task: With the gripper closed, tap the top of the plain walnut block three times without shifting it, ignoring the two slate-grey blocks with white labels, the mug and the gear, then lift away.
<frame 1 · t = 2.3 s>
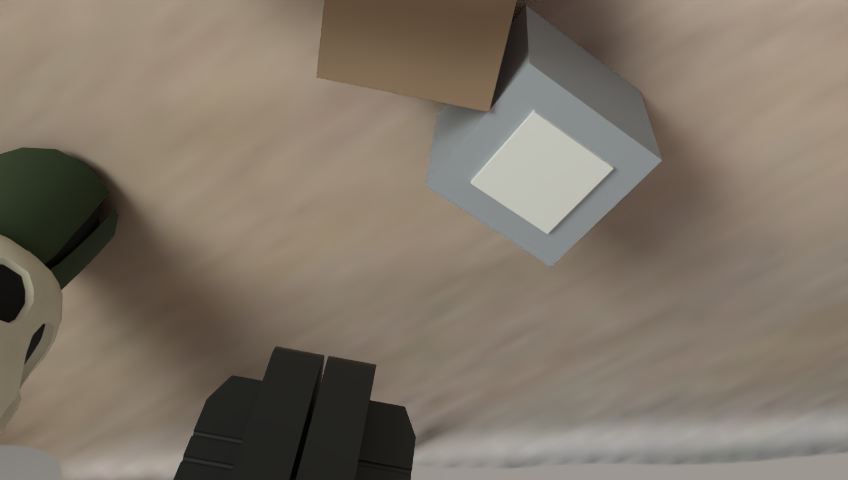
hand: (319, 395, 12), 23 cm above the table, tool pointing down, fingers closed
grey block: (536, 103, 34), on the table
character mug: (59, 194, 39), on the table
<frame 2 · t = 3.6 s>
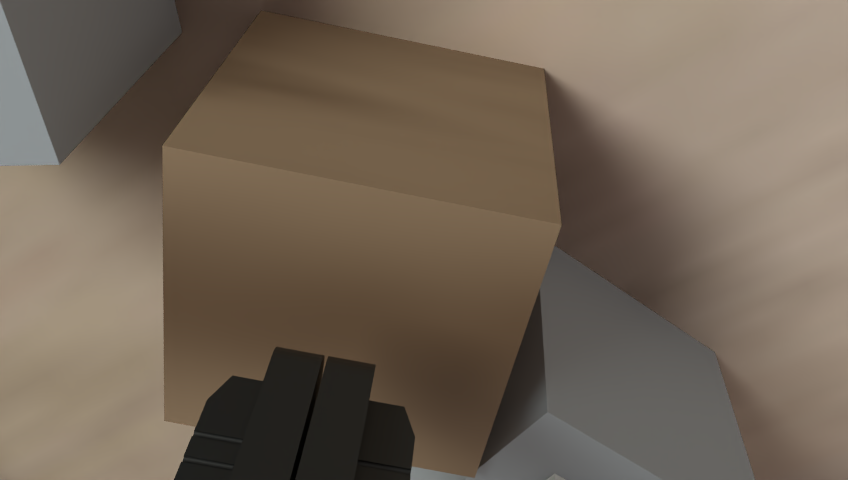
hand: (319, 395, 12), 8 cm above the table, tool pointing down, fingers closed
walnut block: (382, 161, 18), on the table
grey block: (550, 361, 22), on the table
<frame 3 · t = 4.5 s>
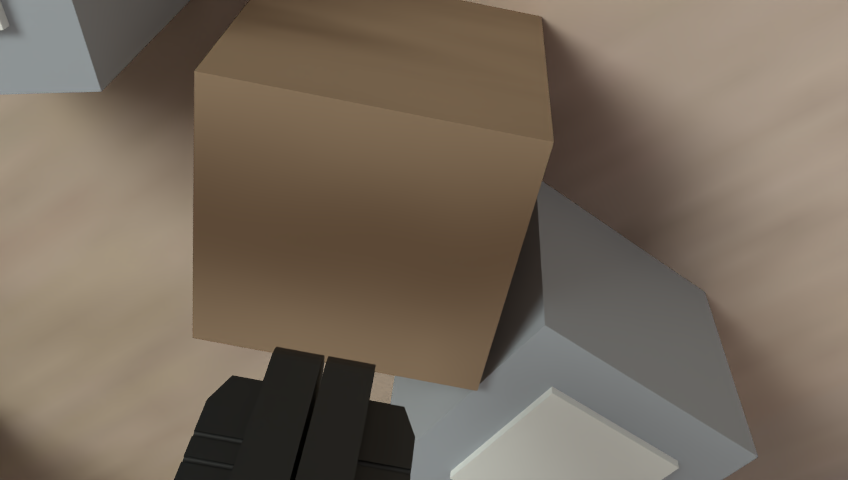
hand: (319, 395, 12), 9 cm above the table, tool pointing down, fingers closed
walnut block: (391, 107, 20), on the table
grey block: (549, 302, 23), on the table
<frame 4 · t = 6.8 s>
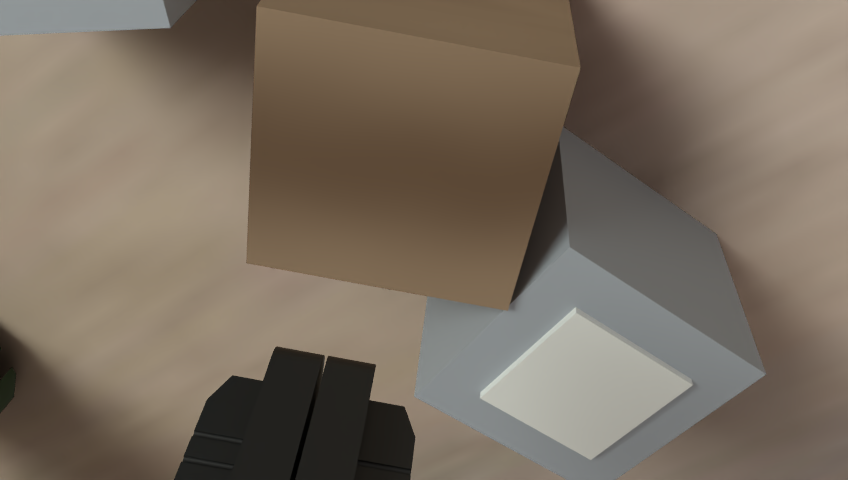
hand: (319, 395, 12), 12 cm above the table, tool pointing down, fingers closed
walnut block: (422, 58, 21), on the table
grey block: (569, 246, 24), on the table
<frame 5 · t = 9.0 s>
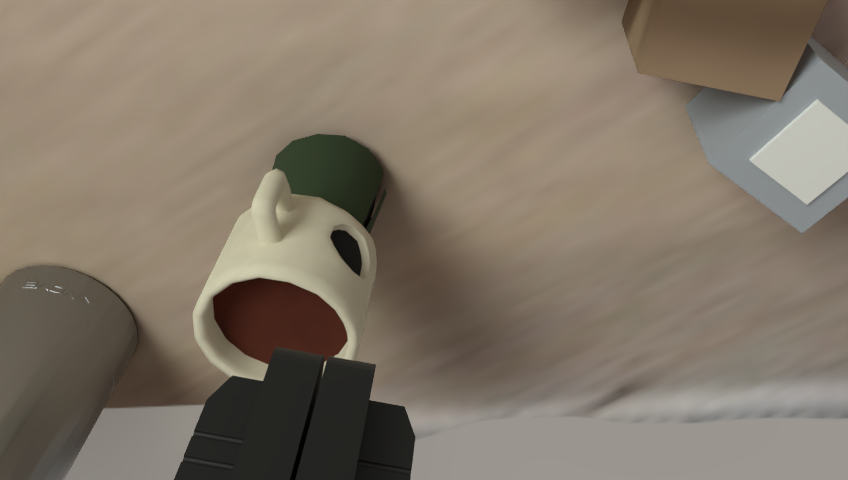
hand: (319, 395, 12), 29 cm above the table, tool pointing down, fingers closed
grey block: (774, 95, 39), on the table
character mug: (331, 176, 44), on the table
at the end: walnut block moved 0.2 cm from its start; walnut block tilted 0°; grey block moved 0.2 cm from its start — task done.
